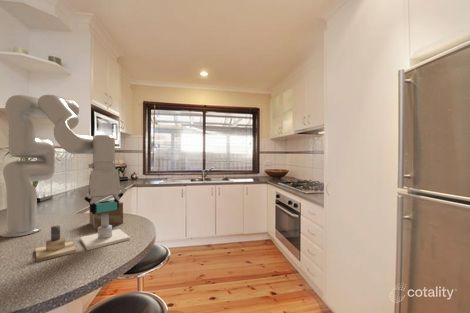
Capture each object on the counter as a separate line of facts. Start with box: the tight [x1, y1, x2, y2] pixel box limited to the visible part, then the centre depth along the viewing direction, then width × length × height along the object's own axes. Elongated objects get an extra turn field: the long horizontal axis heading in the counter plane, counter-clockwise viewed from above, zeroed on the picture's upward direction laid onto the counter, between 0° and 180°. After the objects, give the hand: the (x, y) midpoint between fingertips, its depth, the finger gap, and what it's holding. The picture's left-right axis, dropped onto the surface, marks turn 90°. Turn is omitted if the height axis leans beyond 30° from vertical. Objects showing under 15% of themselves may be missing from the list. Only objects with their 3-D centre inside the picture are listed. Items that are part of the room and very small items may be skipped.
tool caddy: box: [88, 200, 124, 229], centre depth 108 cm, size 12×12×10 cm
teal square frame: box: [94, 199, 117, 213], centre depth 85 cm, size 7×7×3 cm
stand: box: [35, 225, 77, 263], centre depth 75 cm, size 12×10×8 cm
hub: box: [80, 213, 131, 251], centre depth 85 cm, size 14×14×10 cm
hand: (104, 211), depth 85 cm, fingers closed on teal square frame, 7 cm apart
